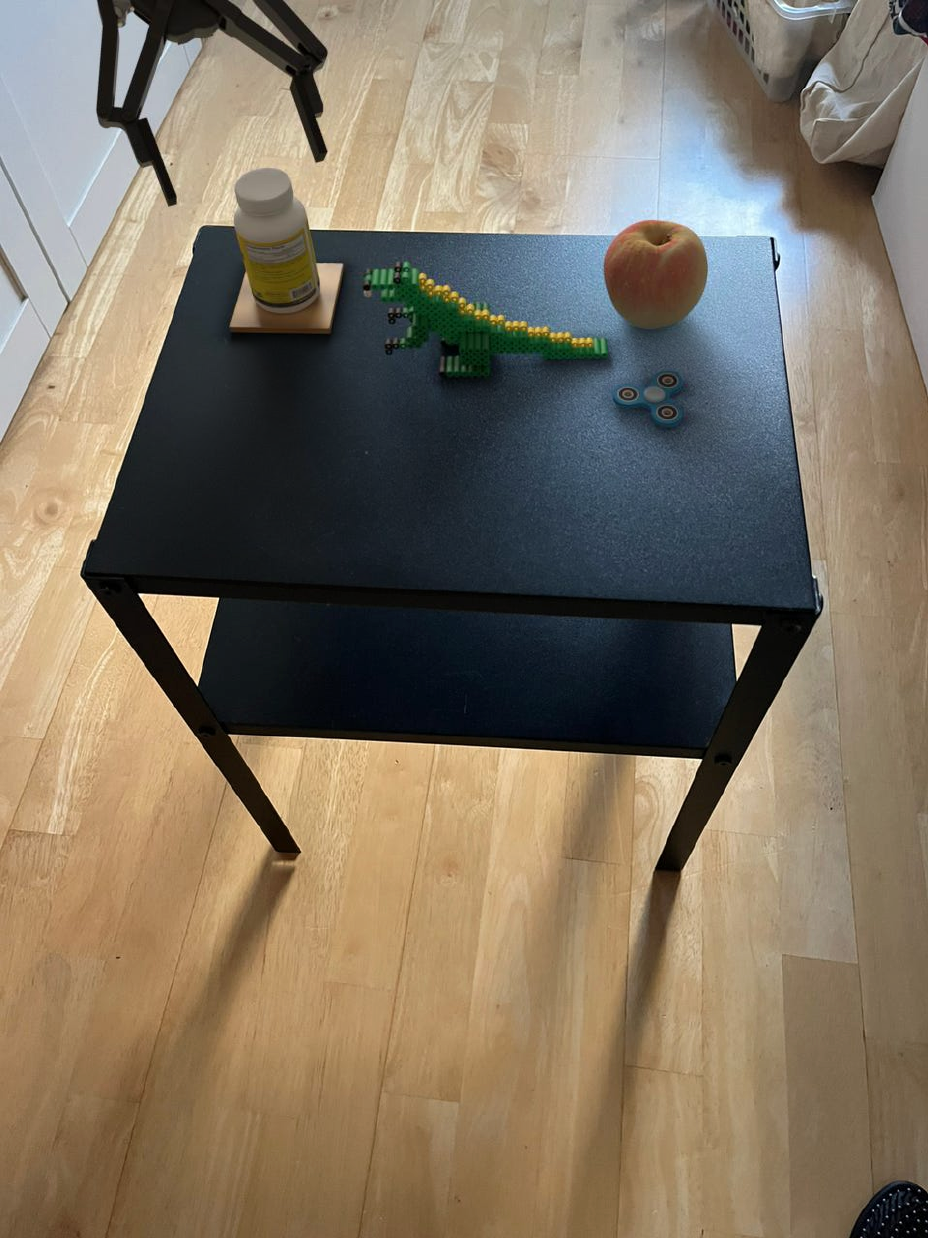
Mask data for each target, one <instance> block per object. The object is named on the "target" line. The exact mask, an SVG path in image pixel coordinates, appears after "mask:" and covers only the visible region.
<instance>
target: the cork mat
mask: <svg viewBox="0 0 928 1238" xmlns="http://www.w3.org/2000/svg"><path fill="white" fill-rule="evenodd" d="M316 264H317V269H318V274H319V279H320V292H319V295H318V297H317V298H316V300H315V301H314V302H313V303H312V304H310V305H309V306H308V307H306V308H304V309H302V310H300V311H297V312H294V313H287V314H280V313H273V312H270V311H267V310H265V309H263V308H261V307H260V306H259V305H258V304H257V303H256V301H255V300H254V297H253V294H252V291H251V287H250V283H249V280H248V276H247V272H246V271H245V273H244V277H243V279H242V283H241V286H240V289H239V293H238V296H237V299H236V303H235V306H234V310H233V314H232V317H231V320H230V323H229V331H230V333H254V334H256V333H257V334H261V333H262V334H263V333H264V334H316V335H317V334H319V335H320V334H322V335H323V334H324V335H329V334H331V332H332V329H333V328H332V327H333V324H334V319H335V314H336V309H337V305H338V299H339V294H340V291H341V287H342V282H343V281H342V280H343V277H344V271H345V265H344V263H326V262H325V263H322V262H321V263H318V262H316Z"/></svg>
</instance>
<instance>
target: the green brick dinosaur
mask: <svg viewBox="0 0 928 1238" xmlns="http://www.w3.org/2000/svg"><path fill="white" fill-rule="evenodd" d="M363 278H364V279H363V282H362V289H363V296H364V297H366V298H370V297H372V293H373V291H378V290H380V291H381V293H380V302H381V303H382V304H387V303H388V302H389V303H391V304H394V303H396V302H397V303H400V304H401V303H403V302H404V305H403V306H404V307H403V308H401V307H396V308H394V307H389V308H388V309H387V319H388V321H387V322H388V324H390V325H395V324H396V321H397V319H402V318H404V319H408V322H409V323H411V324H412V325H411V326H409V327H407V328H406V338H405V337H402V338H400V339H399V338H397V337H395V338H393V339H392V338H386V339H385V340H384V349H385V350H384V351H385V355H387V356H391V355H392V354H393V353H394V350H398V349H401V350H406V349H409V350H413V349H417V350H420V349H422V348H423V343H424V344H426V343H428V342H429V341H430V332H431V333H433V334H434V333H437V338H438V339H440V345H441V346H443V347H446V346H447V345H448V346H454V345H456V346H458V353H459V355H456V356H452V355H449V356H447V357H446V356H445V355H441V356H440V357H439V362H438V376H439V377H440V378H445V377H446V376H447V377H448V378H452V377H455V378H458V377H463V378H466V377H468V376H469V377H472V378H473V377H478V378H480V377H482V376H483V377H486V378H488V377H489V376H490V375H491V355H493V356H496V355H497V354H498V355H505V354H506V355H512V354H513V355H518V354H521V355H526V354H528V355H533V354H534V353H535V354H537V355H540V354H541V359H543V360H545V361H546V360H548V359H550V360H556V359H557V360H563V359H565V360H570V359H573V360H578V359H580V360H584V359H587V360H588V359H589V360H591V359H593V358H594V359H597V360H598V359H601V358H602V359H607V358H609V350H608V348H609V346H608V338H606V337H602V338H598V337H594V338H592V337H589V336H588V337H587V338H585V337H580V338H577V337H572V336H573V335H572V333H571V332H570V331H566V332H562V331H558V332H557V333H556V331H555V332H553V331H552V332H551V331H550V327H549V326H542V327H541V326H536V327H533V326H528V322H527V321H526V320H522V321H519V320H513V322H512V321H511V320H507V321H505V319H506V318H505V315H503V314H499V315H498V316H497V315H495V314H491V304H490V303H489V302H487V301H486V302H485V301H484V302H483V303H482V302H480V301H478V302H477V301H476V303H475V302H473V301H471V302H469V303H467V299H466V298H465V297H460V295H459V292H458V291H456V290H455V291H452V292H451V286H450V285H449V284H445V285H443V286H442V285H441V284H437V285H436V286H435V280H434V279H432V278H429V279H427V274H426V273H424V272H420V271H419V268H416V267H414V268H411V263H410V262H409V261H405V262H404V261H403V262H401V261H400V260H399V261H395V263H394V267H393V268H389V269H388V270H387V268H382V269H380V270H379V269H378V268H374V269H371V268H366V269H365V270H364V274H363Z"/></svg>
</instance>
